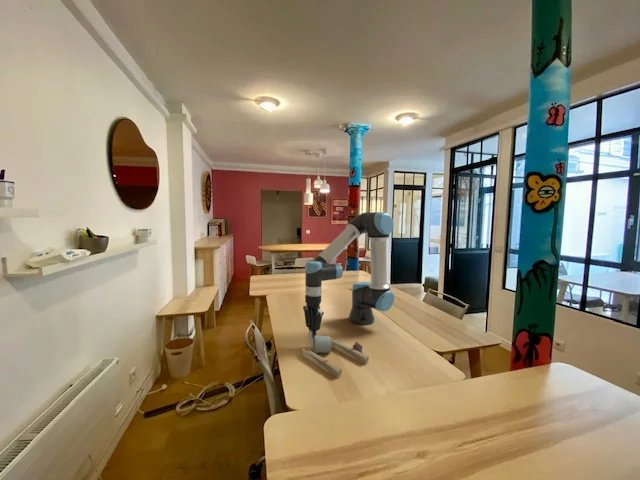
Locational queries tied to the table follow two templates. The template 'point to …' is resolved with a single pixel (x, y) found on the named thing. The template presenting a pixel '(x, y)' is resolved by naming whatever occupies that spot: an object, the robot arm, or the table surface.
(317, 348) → the ceramic mug
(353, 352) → the beam channel
